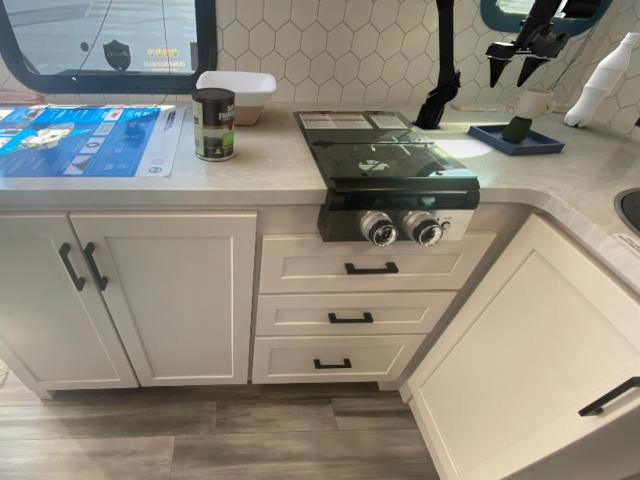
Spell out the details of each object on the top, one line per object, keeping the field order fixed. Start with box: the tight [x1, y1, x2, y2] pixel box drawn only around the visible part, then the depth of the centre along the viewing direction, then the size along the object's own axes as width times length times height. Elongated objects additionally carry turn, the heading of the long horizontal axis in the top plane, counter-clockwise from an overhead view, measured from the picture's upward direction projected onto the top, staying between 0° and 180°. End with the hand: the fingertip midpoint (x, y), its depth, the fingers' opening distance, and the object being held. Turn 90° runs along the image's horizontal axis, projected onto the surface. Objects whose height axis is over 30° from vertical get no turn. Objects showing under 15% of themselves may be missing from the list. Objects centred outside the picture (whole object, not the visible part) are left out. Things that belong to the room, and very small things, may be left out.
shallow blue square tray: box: [466, 123, 566, 157], centre depth 103 cm, size 18×18×2 cm
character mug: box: [502, 87, 558, 141], centre depth 99 cm, size 11×7×13 cm, turn 49°
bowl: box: [195, 70, 278, 126], centre depth 107 cm, size 24×25×11 cm
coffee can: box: [190, 88, 235, 162], centre depth 85 cm, size 10×10×14 cm
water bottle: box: [563, 32, 640, 128], centre depth 109 cm, size 7×7×25 cm
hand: (505, 87), depth 98 cm, fingers open, 9 cm apart
